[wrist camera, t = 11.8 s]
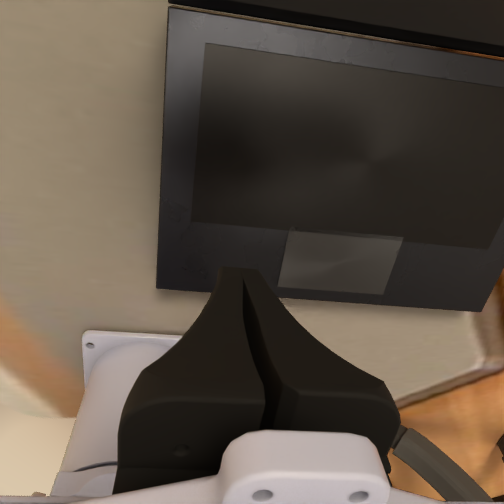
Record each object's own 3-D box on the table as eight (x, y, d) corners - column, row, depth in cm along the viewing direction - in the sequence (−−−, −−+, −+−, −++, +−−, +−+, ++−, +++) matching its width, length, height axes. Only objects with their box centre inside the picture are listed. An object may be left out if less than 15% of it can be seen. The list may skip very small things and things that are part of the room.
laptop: (468, 297, 29) (482, 313, 27) (158, 273, 26) (155, 290, 24) (578, 71, 22) (604, 76, 20) (171, 5, 19) (167, 6, 18)
